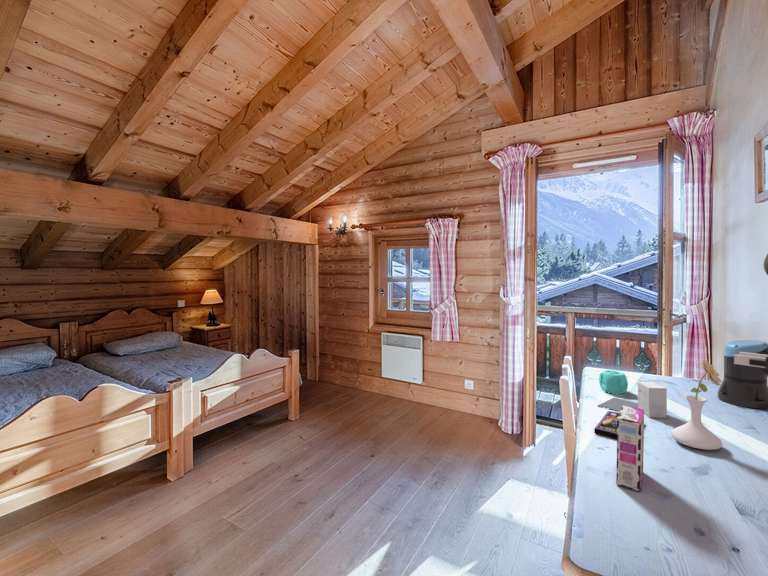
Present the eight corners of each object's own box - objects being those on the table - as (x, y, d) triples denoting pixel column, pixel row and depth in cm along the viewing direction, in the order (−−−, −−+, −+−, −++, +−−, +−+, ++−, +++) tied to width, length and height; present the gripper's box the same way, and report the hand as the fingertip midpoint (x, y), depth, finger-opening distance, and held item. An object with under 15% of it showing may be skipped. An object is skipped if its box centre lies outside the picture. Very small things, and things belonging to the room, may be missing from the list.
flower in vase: (703, 456, 97) (704, 366, 96) (661, 438, 108) (661, 357, 107) (737, 449, 100) (737, 362, 100) (692, 432, 111) (692, 353, 111)
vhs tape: (594, 428, 112) (608, 410, 126) (594, 435, 112) (608, 417, 126) (631, 437, 106) (641, 417, 119) (631, 444, 106) (641, 424, 119)
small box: (667, 418, 122) (667, 388, 122) (648, 417, 124) (648, 387, 123) (654, 410, 130) (654, 381, 130) (637, 409, 131) (637, 381, 131)
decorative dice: (606, 394, 148) (606, 375, 148) (598, 388, 156) (598, 370, 156) (628, 394, 147) (628, 375, 147) (618, 388, 155) (618, 370, 155)
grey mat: (614, 398, 143) (614, 397, 143) (643, 405, 135) (643, 404, 135) (597, 406, 135) (597, 405, 135) (627, 414, 127) (627, 413, 127)
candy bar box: (641, 493, 82) (641, 423, 81) (615, 485, 85) (615, 418, 84) (644, 471, 90) (644, 408, 90) (621, 465, 94) (621, 404, 93)
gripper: (863, 396, 84) (729, 375, 103) (865, 381, 95) (743, 364, 114) (863, 364, 84) (729, 349, 103) (866, 353, 94) (743, 341, 113)
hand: (737, 357), depth 108 cm, fingers open, 5 cm apart
